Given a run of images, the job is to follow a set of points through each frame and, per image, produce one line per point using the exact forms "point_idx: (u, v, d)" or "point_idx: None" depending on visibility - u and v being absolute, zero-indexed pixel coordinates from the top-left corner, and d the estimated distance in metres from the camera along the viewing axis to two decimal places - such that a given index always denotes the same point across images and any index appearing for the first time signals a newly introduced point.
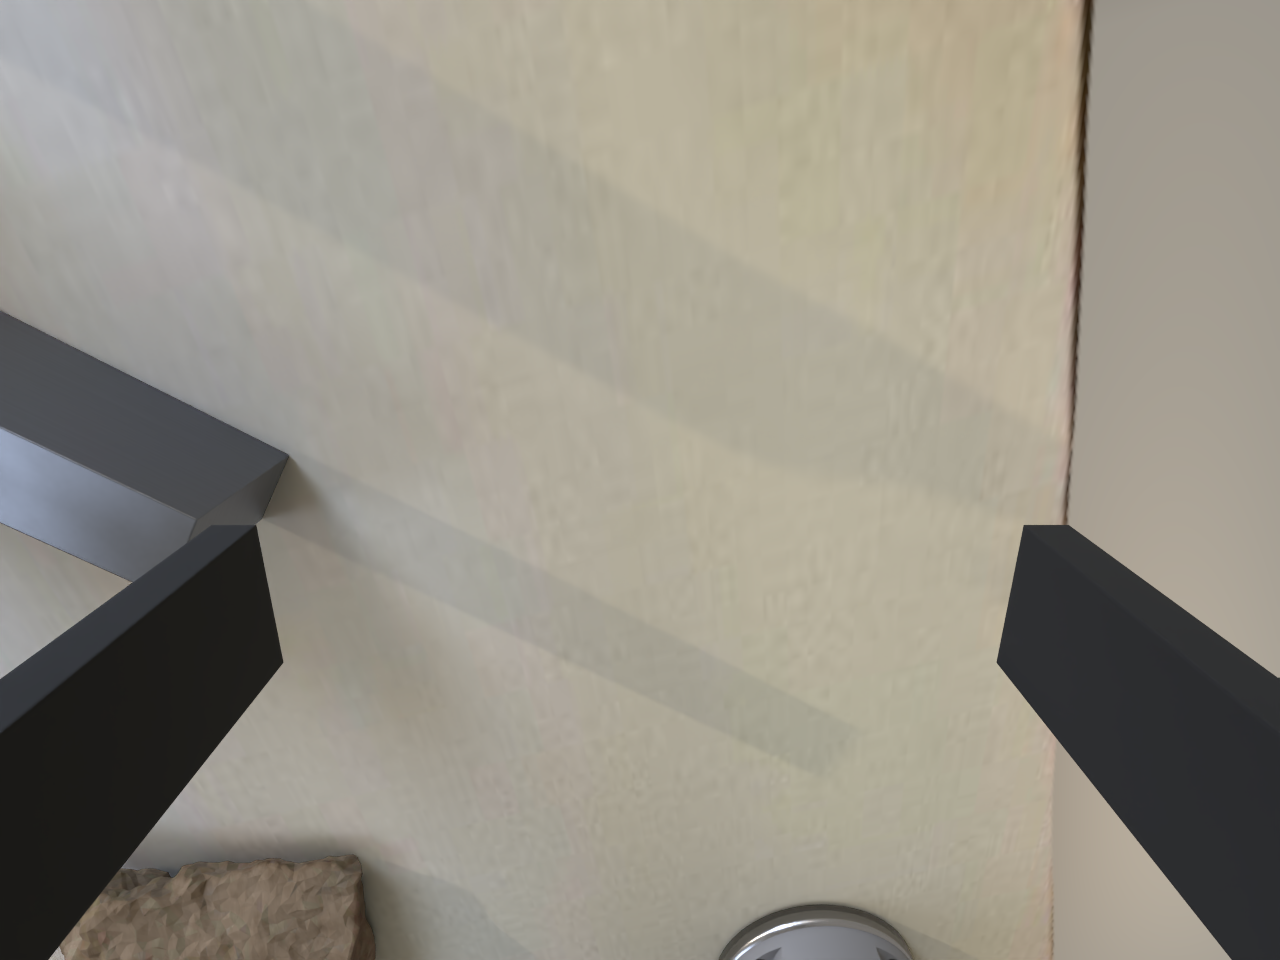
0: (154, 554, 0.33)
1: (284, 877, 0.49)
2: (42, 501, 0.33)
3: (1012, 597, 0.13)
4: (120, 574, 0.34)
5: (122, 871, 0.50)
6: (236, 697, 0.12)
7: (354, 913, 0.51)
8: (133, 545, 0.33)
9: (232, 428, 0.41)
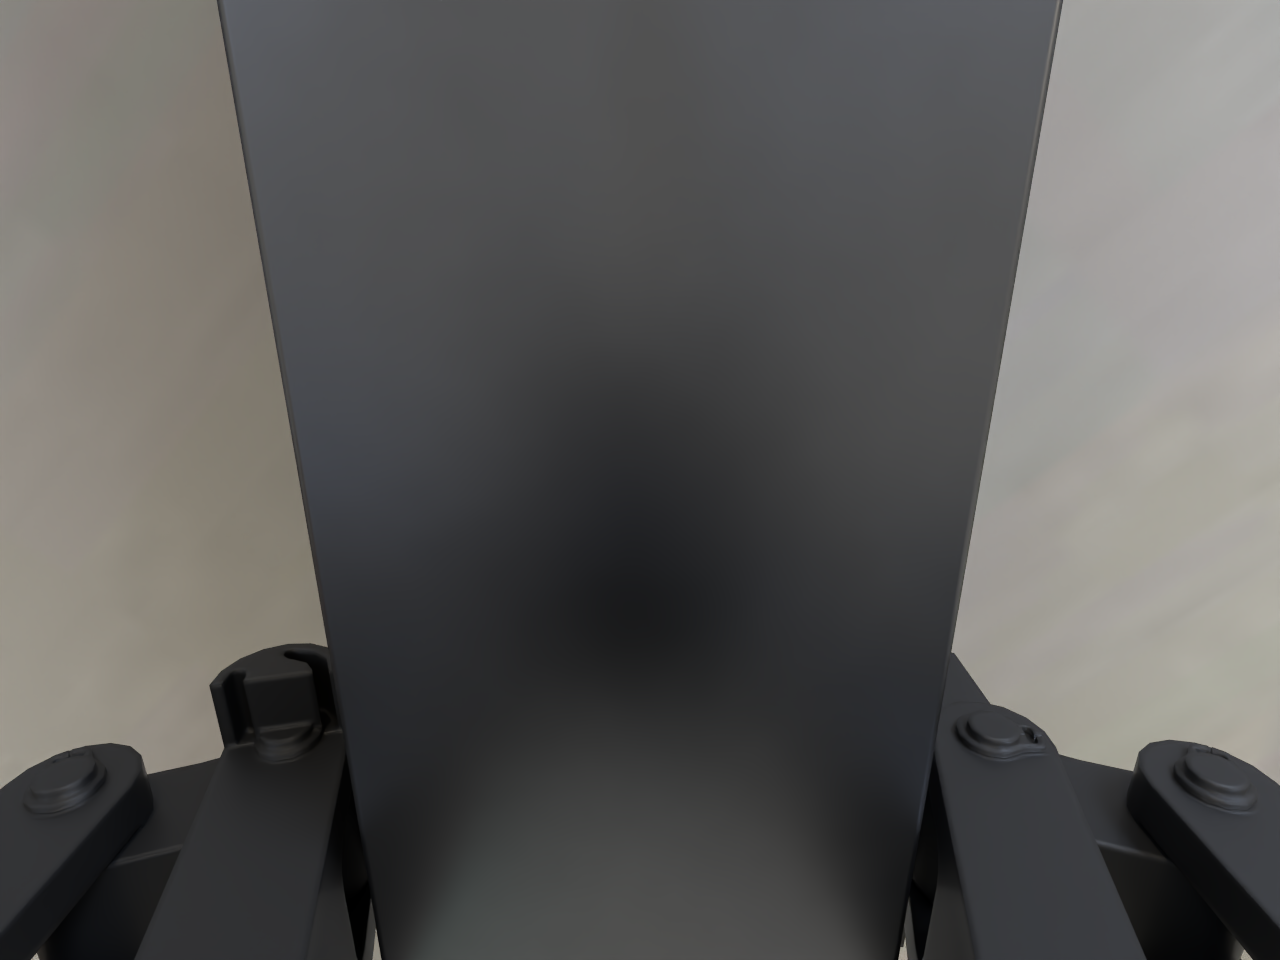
0: None
1: None
2: (605, 679, 0.05)
3: None
4: None
5: None
6: None
7: None
8: None
9: None
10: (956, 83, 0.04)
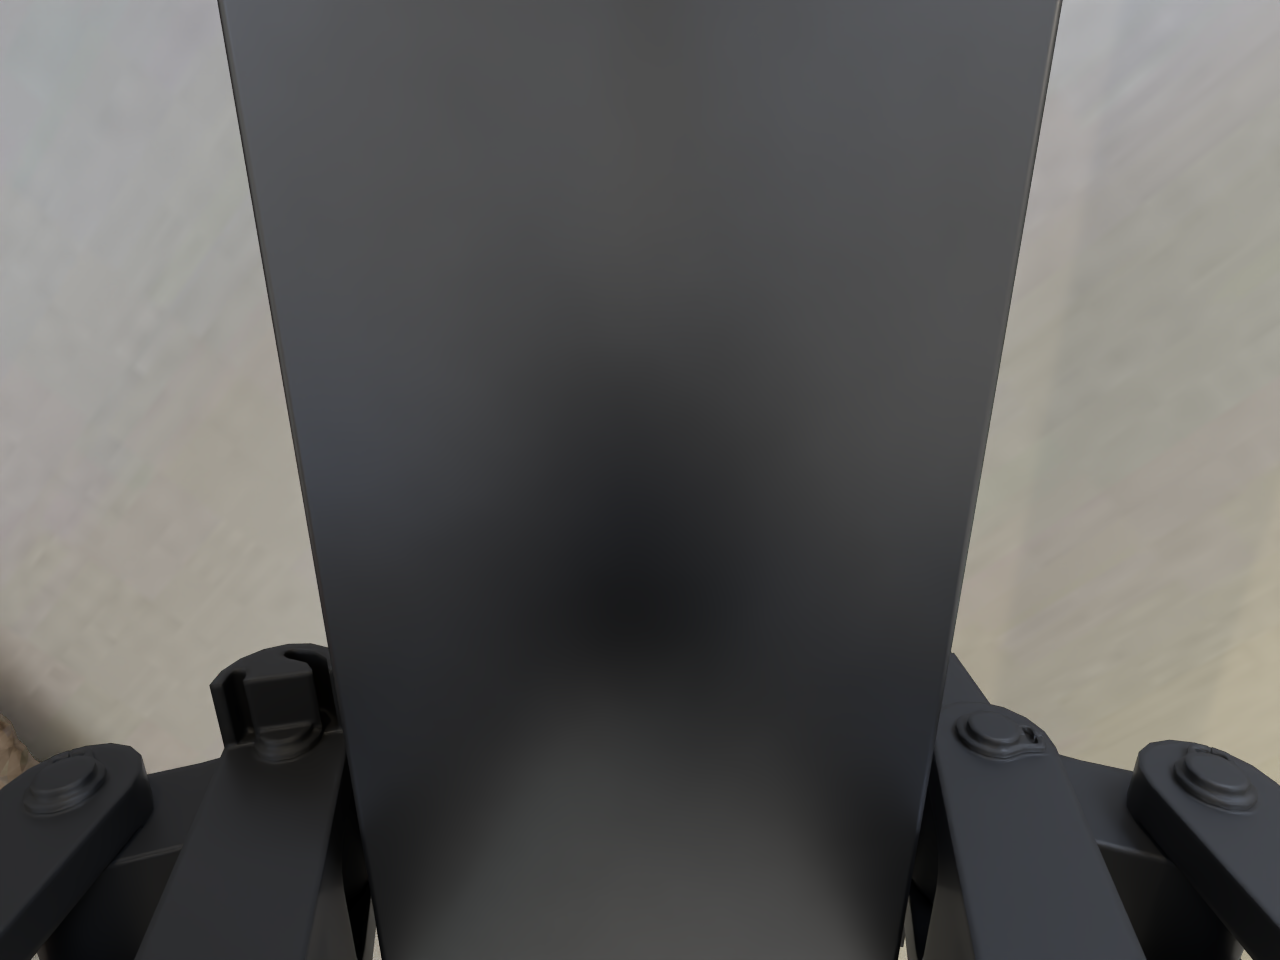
0: None
1: (0, 769, 0.29)
2: (606, 678, 0.05)
3: None
4: None
5: None
6: None
7: None
8: None
9: None
10: (956, 80, 0.04)
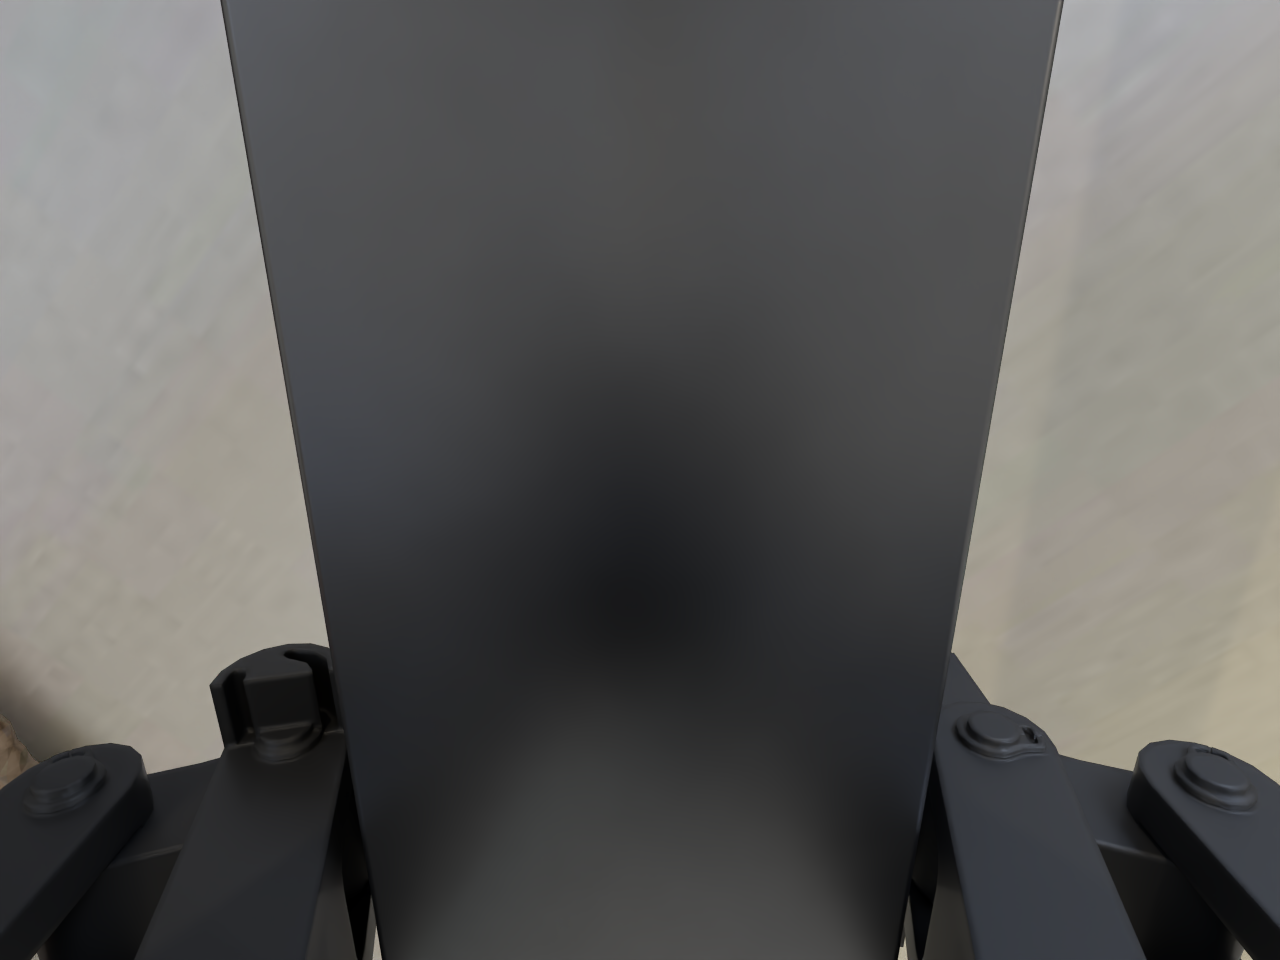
0: None
1: None
2: (606, 676, 0.05)
3: None
4: None
5: None
6: None
7: None
8: None
9: None
10: (957, 81, 0.04)
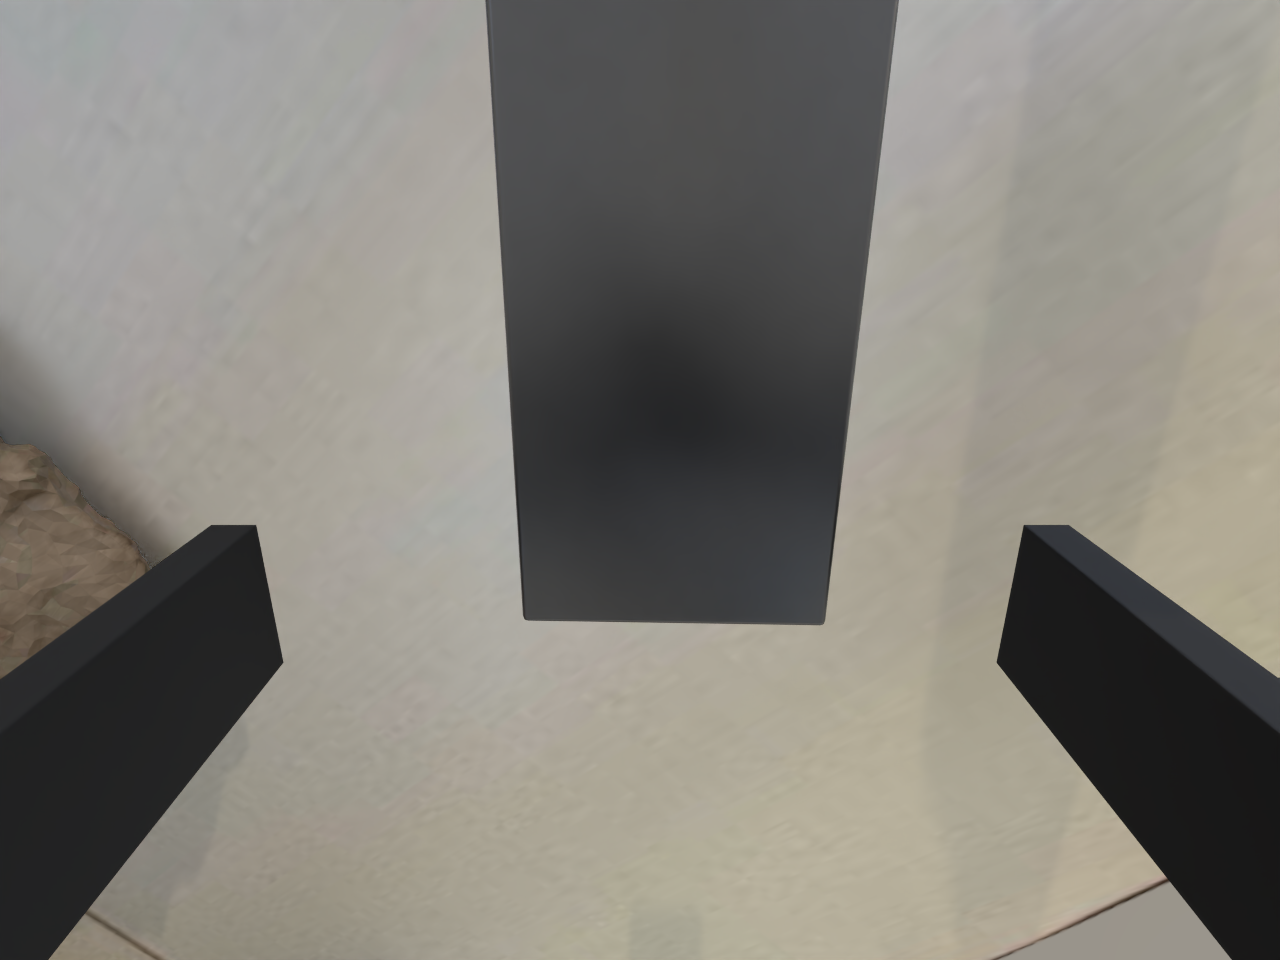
0: (652, 558, 0.11)
1: (129, 576, 0.35)
2: (664, 180, 0.09)
3: (1012, 597, 0.13)
4: (525, 489, 0.10)
5: None
6: (236, 696, 0.12)
7: None
8: (651, 496, 0.10)
9: None
10: None
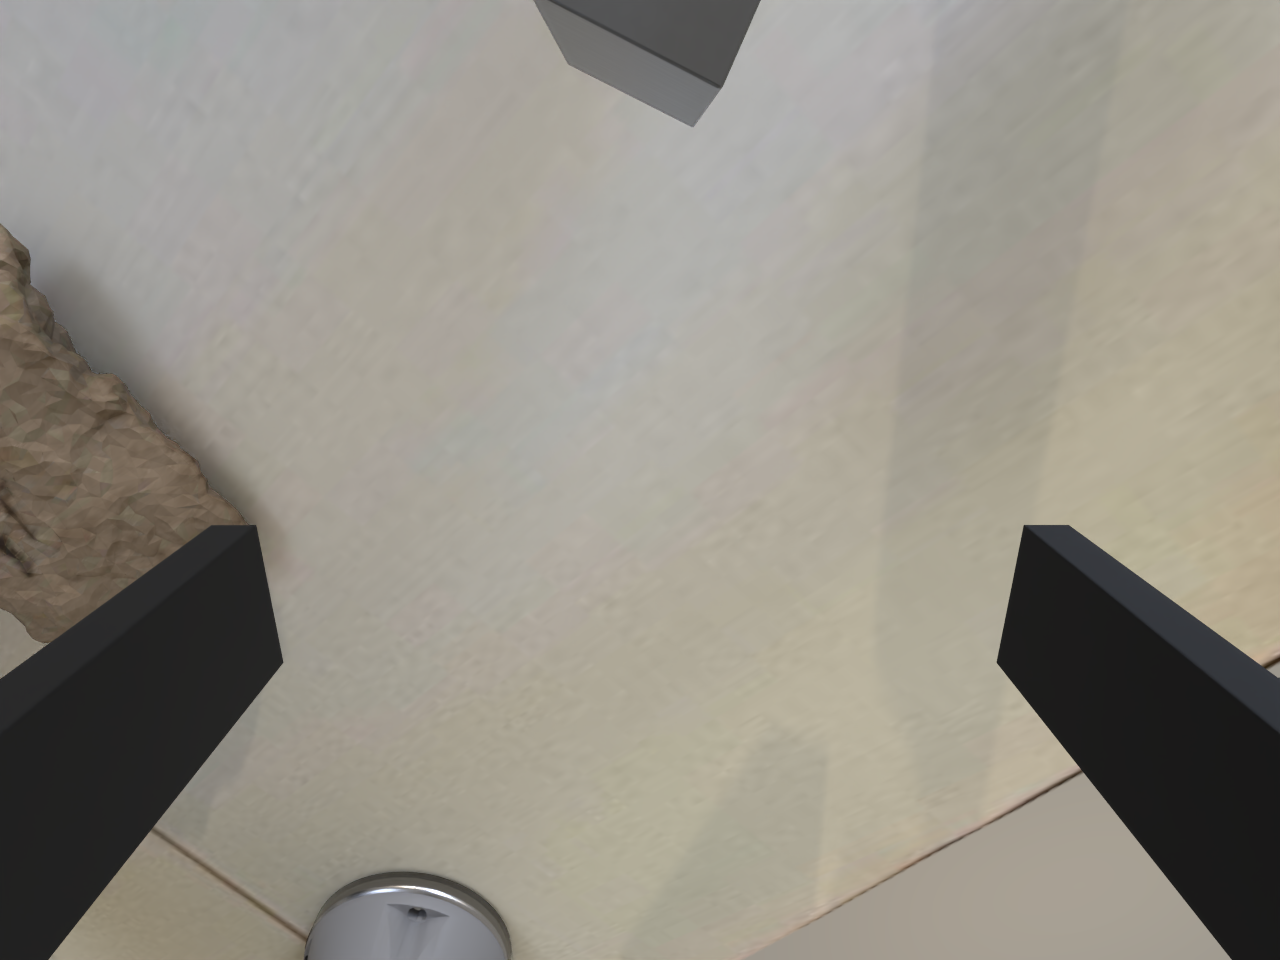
0: None
1: (193, 489, 0.41)
2: None
3: (1012, 597, 0.13)
4: None
5: (51, 310, 0.38)
6: (236, 696, 0.12)
7: None
8: None
9: None
10: None
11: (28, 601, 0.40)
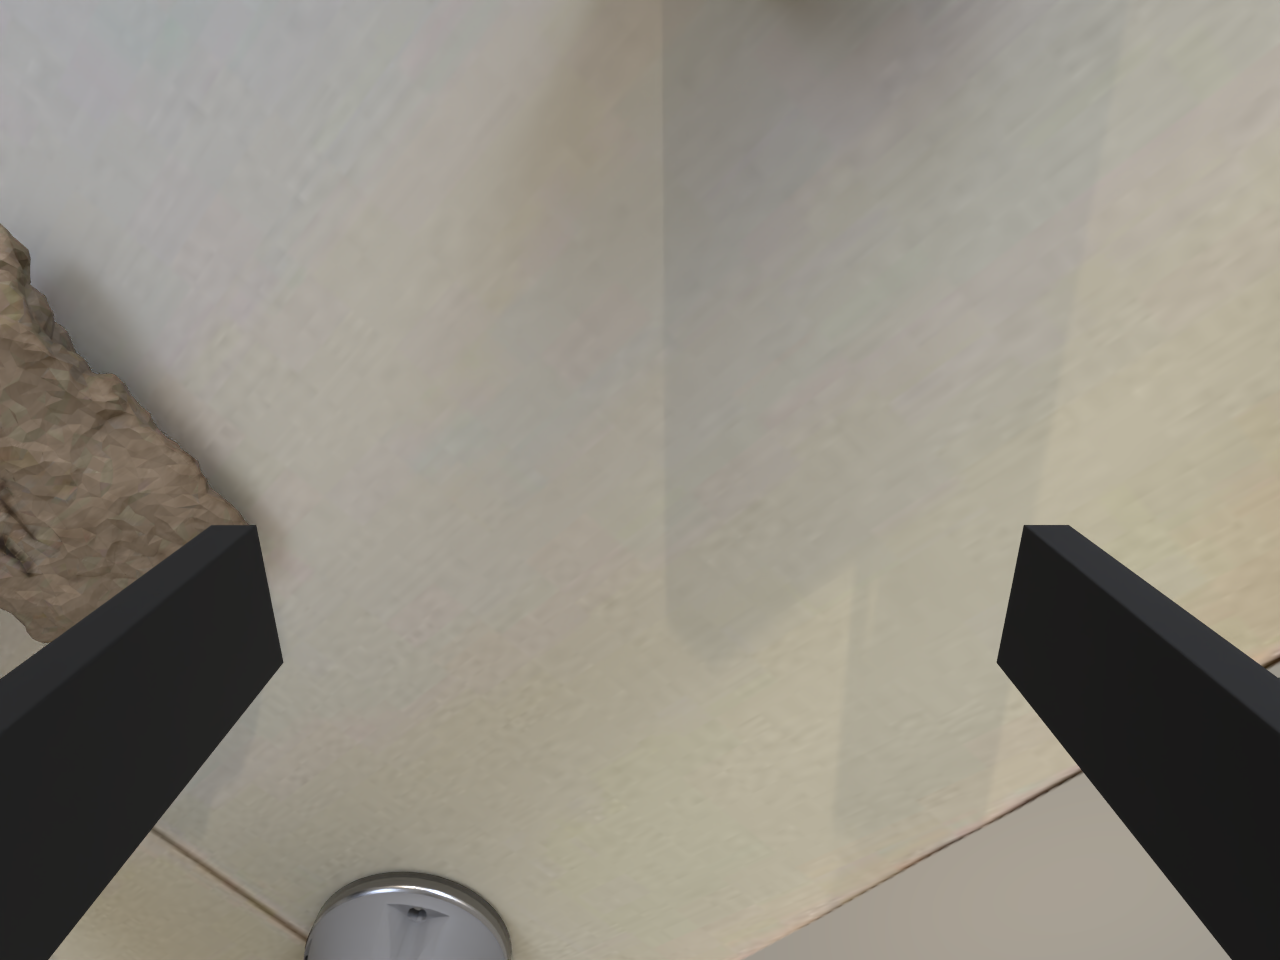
0: None
1: (193, 489, 0.41)
2: None
3: (1012, 597, 0.13)
4: None
5: (51, 310, 0.38)
6: (236, 696, 0.12)
7: None
8: None
9: None
10: None
11: (28, 601, 0.40)
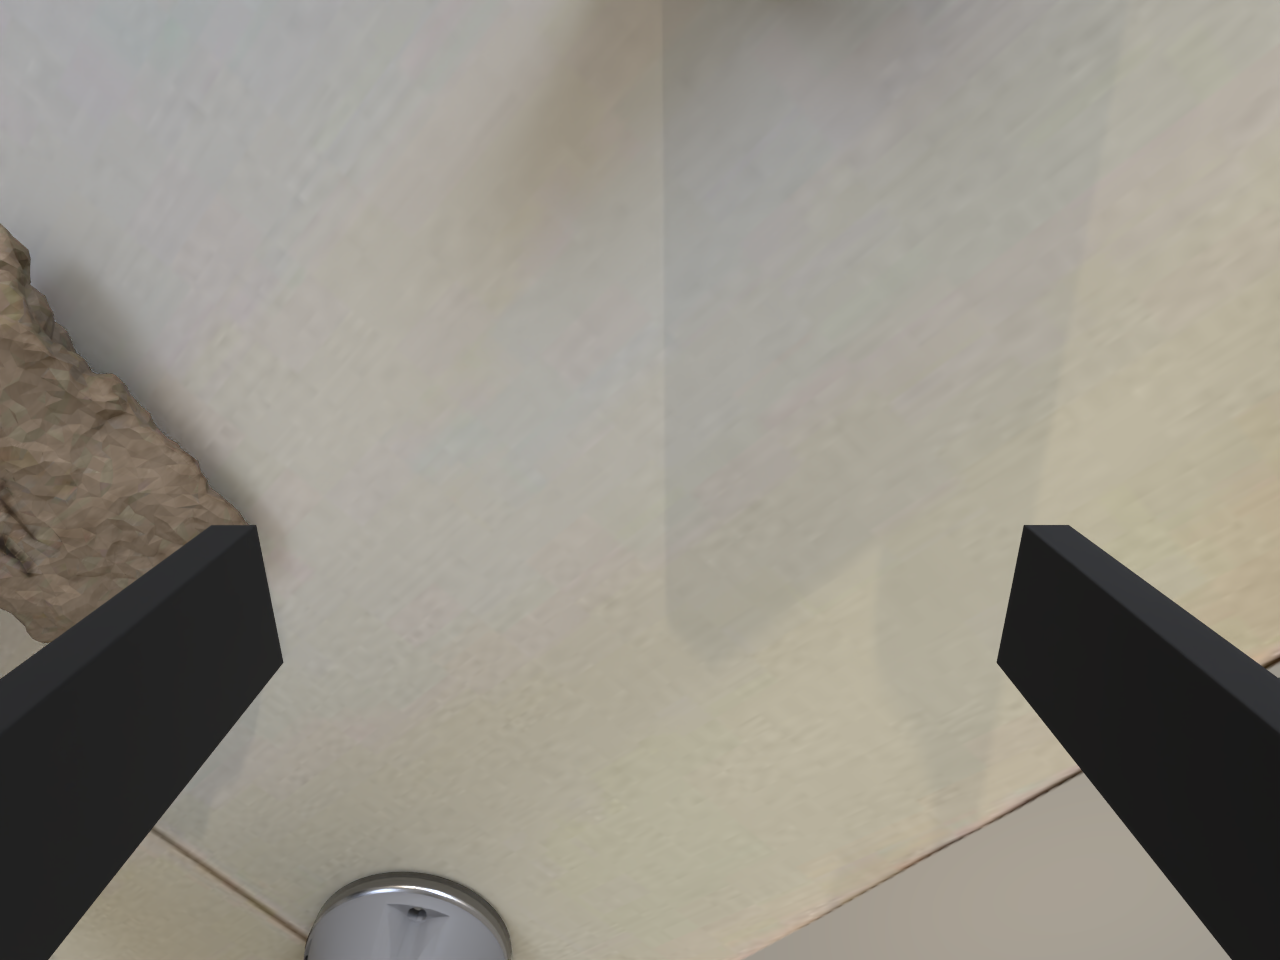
0: None
1: (193, 489, 0.41)
2: None
3: (1012, 597, 0.13)
4: None
5: (51, 310, 0.38)
6: (236, 696, 0.12)
7: None
8: None
9: None
10: None
11: (28, 601, 0.40)
